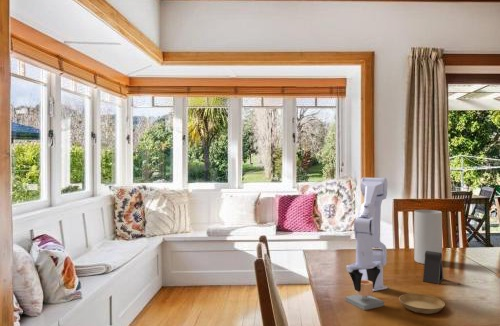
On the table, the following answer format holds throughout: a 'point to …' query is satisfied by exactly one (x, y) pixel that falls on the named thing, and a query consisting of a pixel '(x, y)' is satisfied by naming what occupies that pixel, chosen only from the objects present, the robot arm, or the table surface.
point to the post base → (364, 301)
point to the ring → (366, 288)
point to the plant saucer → (421, 303)
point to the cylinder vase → (427, 233)
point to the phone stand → (433, 267)
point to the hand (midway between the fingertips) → (364, 289)
